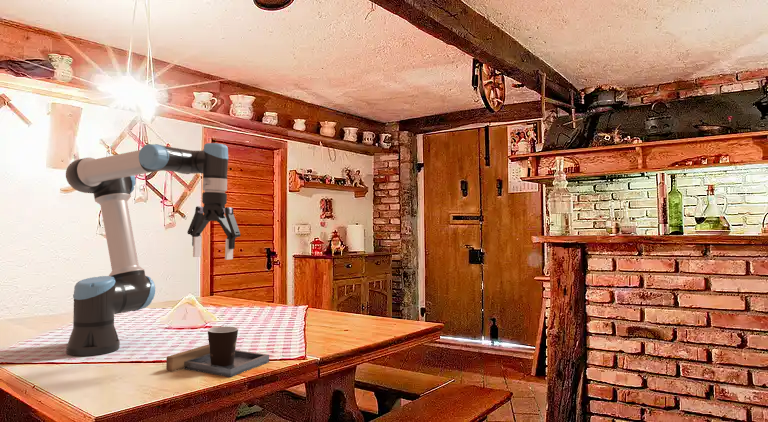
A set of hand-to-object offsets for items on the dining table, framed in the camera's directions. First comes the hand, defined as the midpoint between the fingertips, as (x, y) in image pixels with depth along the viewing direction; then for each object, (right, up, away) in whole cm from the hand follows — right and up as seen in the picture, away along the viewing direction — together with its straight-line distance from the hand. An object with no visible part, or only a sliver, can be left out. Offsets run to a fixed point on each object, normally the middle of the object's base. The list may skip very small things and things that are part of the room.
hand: (212, 258), depth 168 cm
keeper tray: (+9, -31, -13) cm, 35 cm away
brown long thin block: (-1, -30, -11) cm, 32 cm away
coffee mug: (+8, -30, -13) cm, 34 cm away
